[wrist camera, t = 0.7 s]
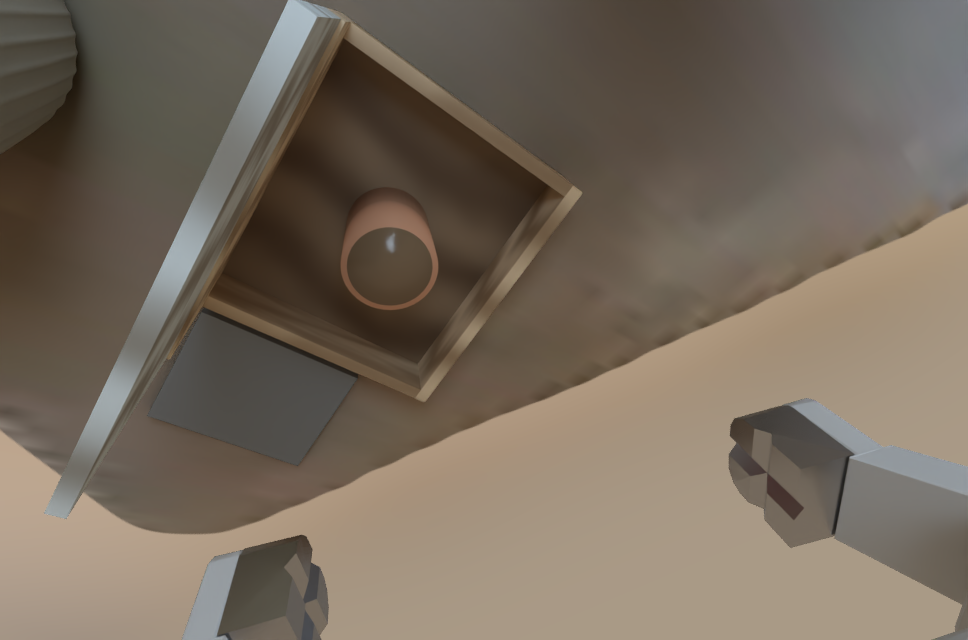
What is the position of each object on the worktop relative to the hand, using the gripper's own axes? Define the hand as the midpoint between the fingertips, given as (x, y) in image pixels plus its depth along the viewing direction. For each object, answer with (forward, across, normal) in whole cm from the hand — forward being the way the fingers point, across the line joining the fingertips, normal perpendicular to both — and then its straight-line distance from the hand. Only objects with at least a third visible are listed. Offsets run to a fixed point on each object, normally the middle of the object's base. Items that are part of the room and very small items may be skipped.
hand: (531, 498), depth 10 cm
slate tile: (+37, +18, +16) cm, 44 cm away
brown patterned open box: (+35, +2, +3) cm, 36 cm away
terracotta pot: (+34, +2, +3) cm, 35 cm away
